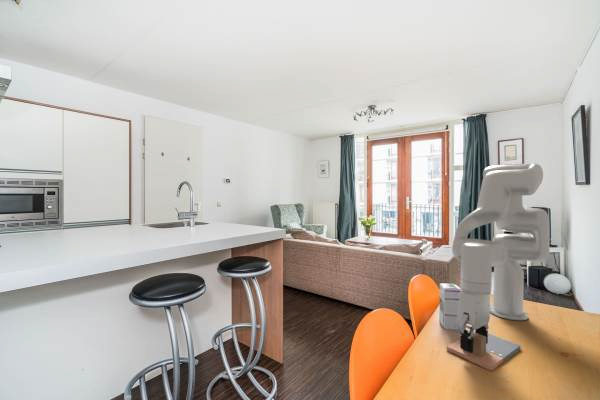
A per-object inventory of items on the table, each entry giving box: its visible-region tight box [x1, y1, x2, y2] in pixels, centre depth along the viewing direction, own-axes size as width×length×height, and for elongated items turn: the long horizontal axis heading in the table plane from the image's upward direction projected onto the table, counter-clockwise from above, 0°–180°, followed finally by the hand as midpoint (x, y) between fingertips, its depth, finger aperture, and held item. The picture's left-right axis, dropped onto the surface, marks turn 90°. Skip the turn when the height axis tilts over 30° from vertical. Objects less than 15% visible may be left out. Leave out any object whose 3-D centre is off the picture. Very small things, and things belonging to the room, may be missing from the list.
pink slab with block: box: [446, 329, 504, 371], centre depth 82 cm, size 7×12×6 cm, turn 34°
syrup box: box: [438, 282, 462, 331], centre depth 101 cm, size 6×6×14 cm
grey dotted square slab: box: [459, 330, 521, 363], centre depth 88 cm, size 12×12×1 cm
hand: (474, 345), depth 82 cm, fingers open, 8 cm apart
